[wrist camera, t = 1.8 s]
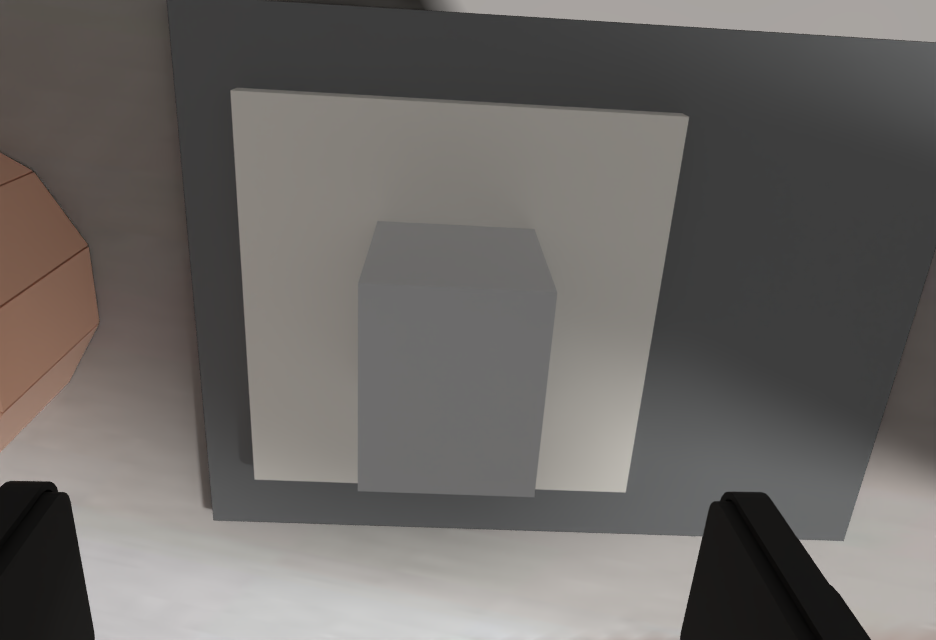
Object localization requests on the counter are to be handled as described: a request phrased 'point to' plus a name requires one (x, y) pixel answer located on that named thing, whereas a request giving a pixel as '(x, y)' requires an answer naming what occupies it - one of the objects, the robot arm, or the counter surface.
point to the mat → (687, 257)
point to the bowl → (38, 298)
